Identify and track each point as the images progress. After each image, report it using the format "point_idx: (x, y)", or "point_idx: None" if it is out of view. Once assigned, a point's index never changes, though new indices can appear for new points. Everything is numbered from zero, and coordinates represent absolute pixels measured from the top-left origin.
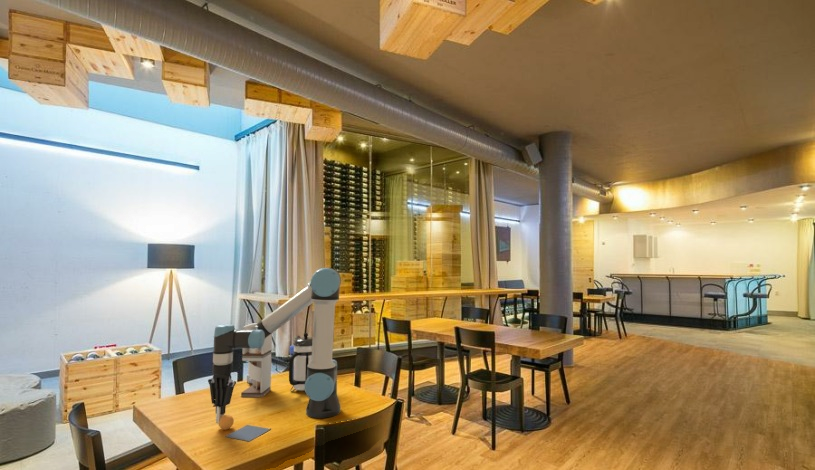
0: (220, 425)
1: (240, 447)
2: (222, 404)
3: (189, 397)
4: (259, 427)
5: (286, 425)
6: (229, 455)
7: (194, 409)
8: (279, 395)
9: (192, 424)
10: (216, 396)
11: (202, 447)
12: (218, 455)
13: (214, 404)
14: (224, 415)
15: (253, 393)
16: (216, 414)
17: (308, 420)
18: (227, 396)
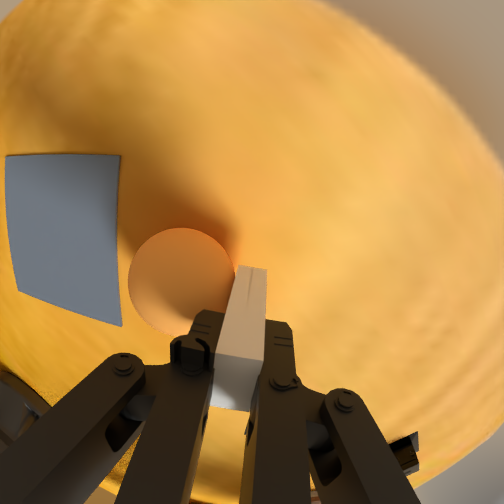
0: (192, 230)
1: (10, 98)
2: (166, 376)
3: (485, 428)
4: (55, 301)
5: (16, 328)
6: (21, 35)
7: (468, 396)
8: (239, 499)
9: (442, 284)
10: (284, 484)
11: (156, 9)
12: (51, 10)
13: (416, 440)
14: (185, 309)
15: (314, 499)
16: (263, 304)
17: (11, 362)
18: (27, 431)
